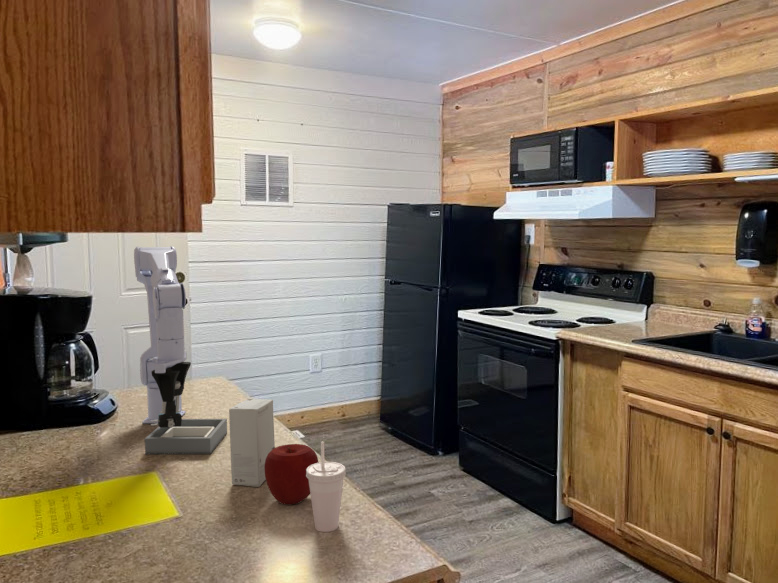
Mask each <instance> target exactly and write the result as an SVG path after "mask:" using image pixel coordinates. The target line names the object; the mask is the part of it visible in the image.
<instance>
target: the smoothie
mask: <svg viewBox="0 0 778 583" xmlns="http://www.w3.org/2000/svg"><path fill="white" fill-rule="evenodd" d="M318 462H319V463H315V464H312V465H310V466H309V467H308V468H307V469H306V477H307V478H308V480H309V488H310V500H311V507H312V515H313V521H314V528H315V530H316V531H318V532H321V533H329V532H333V531H335V530H337V529H338V527H339V520H340V512H341V504H342V503H341V502H342V495H343V486H344V478H345V477H346V475H347V472H346V466H345V465H343V464H342V463H340V462H335V461H325V441H320V461H318Z"/></svg>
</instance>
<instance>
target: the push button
mask: <svg viewBox="0 0 778 583" xmlns="http://www.w3.org/2000/svg"><path fill="white" fill-rule="evenodd" d="M184 390H185V385H184V386H183V385H180V382H179V381H176V384H175V394H174V400H173V402H163V400H162V411H161V414H159V415H158V419H157V420H151V422H154V421H158V423H150V426H151V427H152V426H153V427H154V426H158V427H160V428H163V427H175V426H177V427H180V426H181V422H182V419H183V415H182V416H181V414H180V413H179V412H180V410H179V396H180V395H181V396H182V395H183V393H182V391H183V392H184ZM175 397H176V404H175Z"/></svg>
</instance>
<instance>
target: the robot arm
mask: <svg viewBox="0 0 778 583" xmlns="http://www.w3.org/2000/svg"><path fill="white" fill-rule="evenodd" d="M177 256H178V255H177V249H176V248H175V247H174V246H172V245H171V246H143V247H142V246H135V248H134V250H133V259H134V260H133V261H134V263H133V264H134V271H135V272H134V274H135V278H136V281H137V282H139V283H141V284H143V285H144V288H145V291H146V296H147V298H146V300H147V311H148V313H147V314H148V325H149V337H150V338H149V339H150V340H149V341H150V347H149V348H148V349H146V350H145V351H143V353H142V354H141V356H140V358H139V372H140V382H141V384H142V385H143V386H144V387H145V386H146V394H147V395H146V398H147V399H146V400H147V417H146V418H145V419H144V420H142V424H156V423H158V421H154V422H151V420H157V419H158V415H159V414H161V411H162V400H163V402H173V400H174V394H175V384H176V381H179V382H180V385H183V386H184V387H185V382H186V377H187V374H188V371H189V370H190V367H191V364H192V363H191V362H190V361H187V358H188V357H187V350H185V327H184V326H185V324H184V310H185V308H186V304H187V303H186V302H187V301H186V300H187V297H186V295H187V294H186V288H185V285H184V283H183V282H179V280H178V277H177V274H176V270H177V266H178V257H177ZM183 392H184V390H183V391H182V394H183ZM175 404H176V397H175ZM179 410H180V412H179V413H180V414H181V416H182V417H183V416H184V415H185V413H186V410H183V405H182V395H180V396H179Z"/></svg>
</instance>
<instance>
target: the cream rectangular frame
mask: <svg viewBox="0 0 778 583" xmlns="http://www.w3.org/2000/svg"><path fill="white" fill-rule="evenodd" d="M214 429H215V427H172V428H170V429H169V430H168V431H166V432H165V433H164V434H163V435H162V436H161V437H173V436H204V437H208V436H209V435H210V434H211V433H212V431H213V430H214Z"/></svg>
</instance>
